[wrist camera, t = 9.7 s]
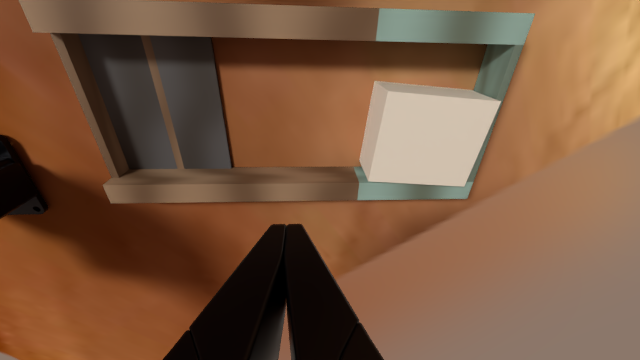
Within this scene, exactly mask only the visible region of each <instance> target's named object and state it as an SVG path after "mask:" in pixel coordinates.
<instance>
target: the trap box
mask: <svg viewBox="0 0 640 360" xmlns="http://www.w3.org/2000/svg"><path fill="white" fill-rule="evenodd" d="M19 2H20V4H21V7H22V9H23V11H24V13H25V15H26V18H27V20H28V22H29V24H30V26H31V29H32V31H33V32H40V33H50V34H51V37H52V39H53V41H54V44H55V46H56V48H57V51H58V53H59V55H60V58H61V60H62V62H63V65H64V67H65V70H66V72H67V74H68V77H69V79H70V81H71V84H72V86H73V88H74V91H75V93H76V95H77V98H78V100H79V102H80V105H81V107H82V109H83V112H84V114H85V116H86V119H87V121H88V123H89V126H90V128H91V131H92V133H93V135H94V138H95V140H96V142H97V145H98V147H99V149H100V152H101V154H102V156H103V159H104V161H105V163H106V166H107V168H108V170H109V173H110V175H111V177H112V178H111V179H110V180H108V181H107V182H106V183H105V184H103V187H104V190H105V192H106V194H107V196H108V198H109V201H110V203H182V202H258V201H333V200H408V199H467V198H468V195H469V192H470V190H471V187H472V184H473V182H474V179H475V176H476V173H477V171H478V168H479V165H480V163H481V160H482V157H483V154H484V152H485V149H486V146H487V143H488V141H489V138H490V135H491V133H492V130H493V127H494V124H495V122H496V119H497V116H498V114H499V111H500V108H501V105H502V103H503V100H504V97H505V94H506V92H507V89H508V86H509V84H510V81H511V78H512V75H513V73H514V70H515V67H516V65H517V62H518V59H519V56H520V54H521V51H522V48H523V45H524V43H525V40H526V37H527V35H528V32H529V29H530V26H531V24H532V21H533V18H534V15H535V14H531V13H501V12H471V11H442V10H412V9H383V8H353V7H323V6H294V5H264V4H235V3H205V2H175V1H146V0H19ZM211 37H235V38H274V39H312V40H351V41H390V42H429V43H468V44H488V45H487V48H486V52H485V55H484V58H483V62H482V65H481V68H480V71H479V75H478V78H477V81H476V84H475V88H474V91H475V92H478V93H480V94H483V95H486V96H488V97H491V98H493V99H496V100H499V101H501V103H500V105H499V108H498V110H497V112H496V115H495V117H494V119H493V122H492V124H491V126H490V128H489V131H488V133H487V135H486V138H485V140H484V142H483V145H482V147H481V149H480V152H479V154H478V156H477V158H476V161H475V163H474V165H473V168H472V170H471V172H470V175H469V177H468V179H467V181H466V184H465V186H464V187H462V186H443V185H425V184H407V183H388V182H370V181H368V179H367V177H366V175H365V172H364V170H363V168H362V167H232V164H231V158H230V152H229V146H228V139H227V133H226V127H225V121H224V114H223V108H222V102H221V96H220V89H219V83H218V77H217V71H216V64H215V58H214V52H213V46H212V39H211Z"/></svg>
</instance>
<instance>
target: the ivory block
mask: <svg viewBox="0 0 640 360" xmlns="http://www.w3.org/2000/svg"><path fill="white" fill-rule="evenodd" d="M500 103H501V101H499V100H496V99H493V98H491V97H488V96H486V95H483V94H480V93H478V92H475V91H473V90H466V89H455V88H445V87H434V86H423V85H413V84H402V83H392V82H381V81H374V86H373V92H372V97H371V102H370V107H369V113H368V118H367V123H366V128H365V134H364V139H363V144H362V149H361V155H360V160H359V161H360V163H361V165H362V168H363V170H364V172H365V175H366V177H367V179H368V181H370V182H388V183H407V184H425V185H443V186H462V187H464V186H465V184H466V181H467V179H468V177H469V175H470V172H471V170H472V168H473V165H474V163H475V161H476V158H477V156H478V154H479V152H480V149H481V147H482V145H483V142H484V140H485V138H486V135H487V133H488V131H489V128H490V126H491V124H492V122H493V119H494V117H495V115H496V112H497V110H498V108H499V105H500Z"/></svg>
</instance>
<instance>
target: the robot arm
mask: <svg viewBox="0 0 640 360" xmlns="http://www.w3.org/2000/svg"><path fill="white" fill-rule="evenodd" d="M47 210H48V205H47V204H46V202H45V200H44V199H43V197H42V195H41V194H40V192H39V190H38V189H37V187H36V186H35V184H34V182H33V181H32V179H31V177H30V176H29V174H28V172H27V171H26V169H25V167H24V166H23V164H22V162H21V161H20V159H19V157H18V156H17V154H16V152H15V151H14V149H13V147H12V146H11V144H10V142H9V141H8V140H7V138H5V137H4V136H2V135H0V219H1V218H3V217H4V216H6V215H17V214H43V213H44V212H45V211H47ZM286 303H287V317H288V329H289V340H290V350H291V360H384V359H383V357H382V356H381V354H380V353H379V351H378V350H377V348H376V347H375V345H374V343H373V342H372V340H371V339H370V337H369V335H368V334H367V332H366V330H365V329H364V327H363V325H362V324H361V323H359V319H358V317H357V316H356V314H355V312H354V311H353V309H352V307H351V306H350V304H349V302H348V301H347V299H346V297H345V296H344V294H343V292H342V291H341V289H340V287H339V286H338V284H337V282H336V280H335V279H334V277H333V275H332V274H331V272H330V270H329V269H328V267H327V265H326V264H325V262H324V260H323V259H322V257H321V255H320V254H319V252H318V250H317V249H316V247H315V245H314V244H313V242H312V240H311V239H310V237H309V235H308V234H307V232H306V230H305V229H304V227H303V225H302V224H288V225H287V226H286V225H285V224H273V225H271V226H270V227H269V228H268V230H267V231H266V232H265V233H264V235H263V236H262V237H261V238H260V240H259V241H258V242H257V243H256V245H255V246H254V247H253V248H252V250H251V251H250V252H249V253H248V255H247V256H246V257H245V258H244V260H243V261H242V262H241V263H240V265H239V266H238V267H237V268H236V270H235V271H234V272H233V273H232V275H231V276H230V277H229V278H228V280H227V281H226V282H225V283H224V285H223V286H222V287H221V288H220V290H219V291H218V292H217V293H216V295H215V296H214V297H213V298H212V300H211V301H210V302H209V303H208V305H207V306H206V307H205V308H204V310H203V311H202V312H201V313H200V315H199V316H198V317H197V318H196V320H195V321H194V322H193V323H192V324H191V326H190V327H189V329H190V331H189V330H187V331H186V332H185V333H184V334H183V335H182V337H181V338H180V339H179V340H178V342H177V343H176V344H175V345H174V347H173V348H172V349H171V350H170V352H169V353H168V354H167V355H166V356H165V357H164V359H163V360H278V357H279V350H280V343H281V336H282V330H283V324H284V317H285V309H286Z"/></svg>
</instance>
